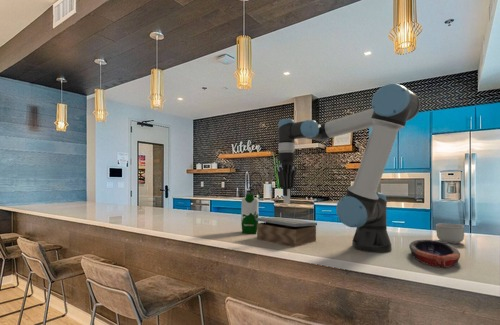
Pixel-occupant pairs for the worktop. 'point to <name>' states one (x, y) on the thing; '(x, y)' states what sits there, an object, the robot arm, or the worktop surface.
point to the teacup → (450, 233)
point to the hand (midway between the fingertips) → (286, 202)
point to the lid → (286, 221)
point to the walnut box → (286, 234)
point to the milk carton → (249, 214)
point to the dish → (434, 253)
